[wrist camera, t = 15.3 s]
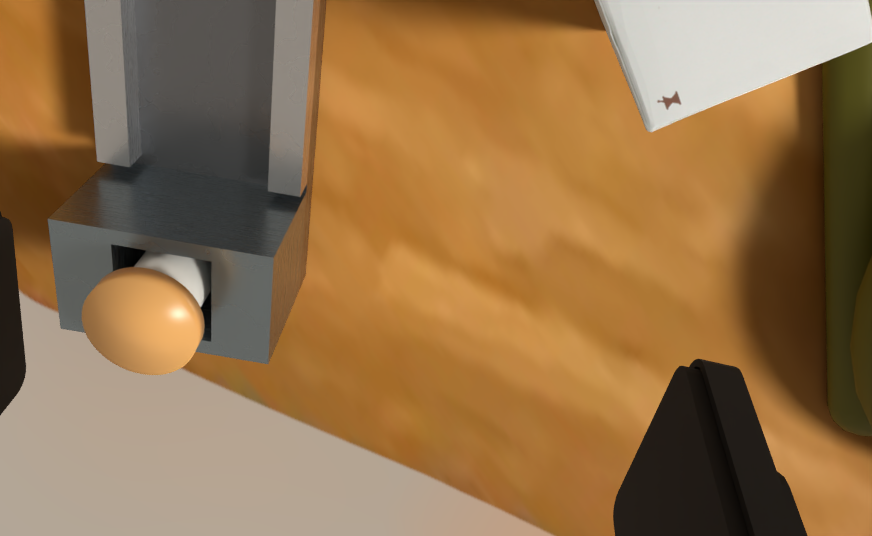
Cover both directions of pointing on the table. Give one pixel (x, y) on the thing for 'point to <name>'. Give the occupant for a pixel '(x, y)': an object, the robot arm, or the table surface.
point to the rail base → (199, 157)
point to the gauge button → (149, 313)
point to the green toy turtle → (848, 236)
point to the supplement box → (723, 47)
